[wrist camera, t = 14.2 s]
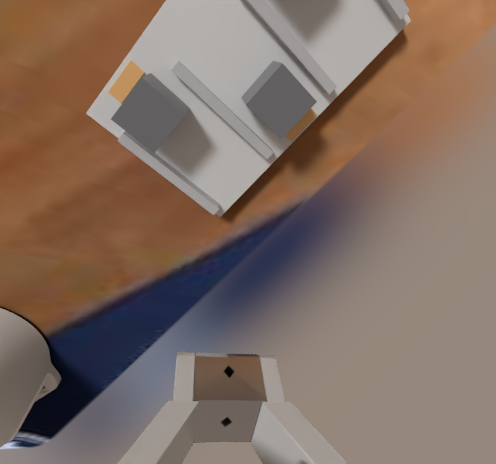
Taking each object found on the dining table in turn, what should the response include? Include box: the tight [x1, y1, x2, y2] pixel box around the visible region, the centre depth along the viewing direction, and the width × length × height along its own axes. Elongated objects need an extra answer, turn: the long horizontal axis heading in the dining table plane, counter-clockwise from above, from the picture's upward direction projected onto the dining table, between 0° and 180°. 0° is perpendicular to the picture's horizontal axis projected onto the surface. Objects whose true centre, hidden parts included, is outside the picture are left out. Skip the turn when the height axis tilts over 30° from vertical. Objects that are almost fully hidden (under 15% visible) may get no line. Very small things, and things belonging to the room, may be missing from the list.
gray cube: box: [111, 73, 188, 153], centre depth 25 cm, size 4×4×4 cm
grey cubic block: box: [241, 61, 317, 139], centre depth 26 cm, size 4×4×4 cm
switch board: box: [86, 0, 411, 217], centre depth 27 cm, size 22×14×3 cm, turn 137°
